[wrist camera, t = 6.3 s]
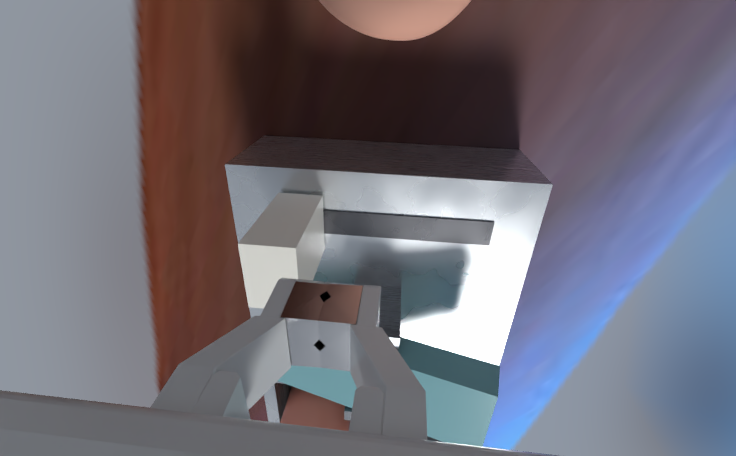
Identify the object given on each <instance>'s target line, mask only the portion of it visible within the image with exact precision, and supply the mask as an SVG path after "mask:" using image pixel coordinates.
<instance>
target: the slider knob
mask: <svg viewBox="0 0 736 456" xmlns="http://www.w3.org/2000/svg"><path fill="white" fill-rule="evenodd" d="M238 248H239V253H240V259H241V265H242V271H243V277H244V283H245V289H246V294H247V300H248V306H249V307H252V308H263V309H264V307H265V305H266V303H267V301H268V299H269V297H270V295H271V293H272V291H273V289H274V287H275V285H276V283H277V281H278V280H279V279H280V278H281V277H282V278H292V279H304V280H313V279H314V276H315V273H316V271H317V268H318V265H319V263H320V260H321V258H322V255H323V252H324V250H325V245H324V216H323V196H322V195H307V194H292V193H278V194H277V195H276V196H275V198H274V199H273V200H272V201H271V203H270V204H269V205H268V206H267V208H266V209H265V210H264V211H263V213H262V214H261V215H260V217H259V218H258V219H257V220H256V222H255V223H254V224H253V225H252V227H251V228H250V229H249V230H248V232H247V233H246V234H245V235H244V237H243V238H242V239H241V240H240V242H239V243H238Z"/></svg>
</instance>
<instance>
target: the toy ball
mask: <svg viewBox="0 0 736 456" xmlns="http://www.w3.org/2000/svg"><path fill="white" fill-rule="evenodd" d="M319 1H320V2H321V4H322V5H323V6H324V7H325V8H326V9H327V10H328V11H329V12H330V13H331V14H332V15H334V16H335V17H336V18H337V19H338V20H340V21H341V22H343V23H344V24H346V25H347V26H349V27H350V28H352V29H354V30H356V31H358V32H360V33H363V34H365V35H368V36H371V37H375V38H379V39H385V40H396V41H409V40H415V39H420V38H423V37H426V36H428V35H431V34H433V33H435V32H436V31H438V30H440V29H441V28H443V27H444V26H446V25H447V24H448V23H450V22H451V21H452V20H453V19H454V18H455V17H457V16H458V15H459V14H460V13H461V12H462V11H463V9H464V8H465V7H466V6H467V5H468V4H469V3H470V1H471V0H319Z"/></svg>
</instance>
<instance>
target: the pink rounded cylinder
mask: <svg viewBox="0 0 736 456" xmlns="http://www.w3.org/2000/svg"><path fill="white" fill-rule="evenodd" d="M344 409H345V406H344V405H342V404H339V403H336V402H333V401H331V400H328V399H325V398H323V397H320V396H317V395H315V394H312V393H309V392H306V391H304V390H301V389H298V388H296V387H293V386H292V388H291V391H290V394H289V397H288V400H287V403H286V406H285V409H284V412H283V415H282V418H281V421H280V423H283V424H292V425H300V426H309V427H317V428H326V429H335V430H343V431H349V425H350V420H344Z"/></svg>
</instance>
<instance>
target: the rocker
mask: <svg viewBox="0 0 736 456" xmlns="http://www.w3.org/2000/svg"><path fill="white" fill-rule="evenodd" d="M398 352H399V353H400V355H401V356H402V358H403V359H404V361H405V362H406V364H407V365H408V366H409V368H410V369H411V371H412V372H413V374H414V375H415V377H416V378H417V380H418V381H419V383H420V384H421V385H422V387H423V388H424V390H425V391H426V417H427V436H428V437H431V438H434V439H436V440H439V441H442V442H447V443H456V444H464V445H473V446H481V447H482V446H483V443H484V439H485V436H486V433H487V430H488V427H489V424H490V420H491V417H492V414H493V411H494V408H495V405H496V401H497V398H498V387H499V371H500V366H499V365H496V364H492V363H489V362H485V361H482V360H478V359H475V358H472V357H468V356H465V355H461V354H458V353H455V352H451V351H448V350H444V349H441V348H438V347H434V346H431V345H427V344H424V343H420V342H417V341H414V340H410V339H407V338H403V337H400V345H399V350H398ZM278 381H279V382H282V383H285V384H287V385H290V386H293V387H296V388H298V389H301V390H304V391H306V392H309V393H312V394H315V395H317V396H320V397H323V398H325V399H328V400H331V401H333V402H336V403H339V404H342V405H344V406H347V407H350V408H352V407H353V401H354V395H355V390H356V389H357V387H356V385H355V382H354V380H353V378H352V376H351V373H350V371H342V370H334V369H327V368H318V367H305V366H292V365H291V368H290V369H289V370H288V371H287V372H286V373H285V374H284V375H283V376H282V377H281V378H280V379H279V380H278Z"/></svg>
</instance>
